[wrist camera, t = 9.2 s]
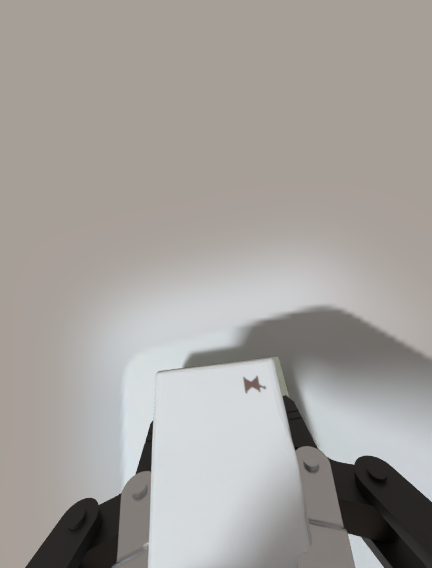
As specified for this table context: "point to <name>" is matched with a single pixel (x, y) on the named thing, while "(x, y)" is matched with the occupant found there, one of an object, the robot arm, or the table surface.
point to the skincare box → (224, 470)
